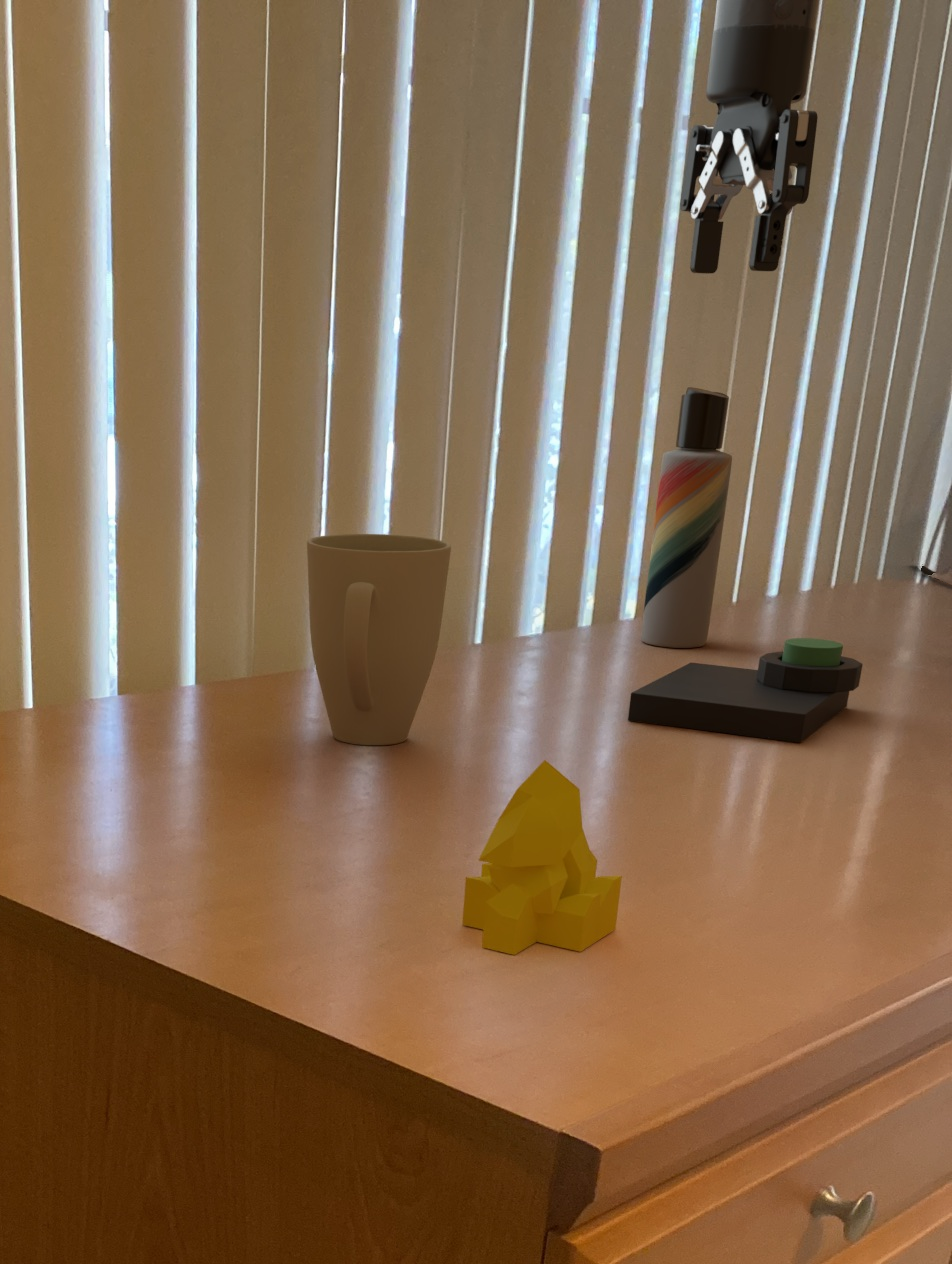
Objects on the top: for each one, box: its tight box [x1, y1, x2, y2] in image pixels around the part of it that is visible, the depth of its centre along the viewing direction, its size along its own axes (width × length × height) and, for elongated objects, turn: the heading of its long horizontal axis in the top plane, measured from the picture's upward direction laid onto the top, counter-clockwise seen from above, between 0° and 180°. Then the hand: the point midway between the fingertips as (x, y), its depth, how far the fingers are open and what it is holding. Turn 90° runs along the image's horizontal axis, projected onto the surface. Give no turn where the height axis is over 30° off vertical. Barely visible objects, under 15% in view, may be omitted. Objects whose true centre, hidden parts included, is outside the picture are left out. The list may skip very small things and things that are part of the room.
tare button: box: [782, 637, 844, 666], centre depth 116 cm, size 4×4×2 cm
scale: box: [627, 651, 863, 744], centre depth 115 cm, size 14×13×4 cm
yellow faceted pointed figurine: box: [461, 759, 623, 956], centre depth 72 cm, size 6×8×8 cm
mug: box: [306, 533, 452, 746], centre depth 103 cm, size 11×10×12 cm
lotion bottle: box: [640, 386, 733, 649], centre depth 137 cm, size 6×6×20 cm
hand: (731, 272), depth 131 cm, fingers open, 8 cm apart
